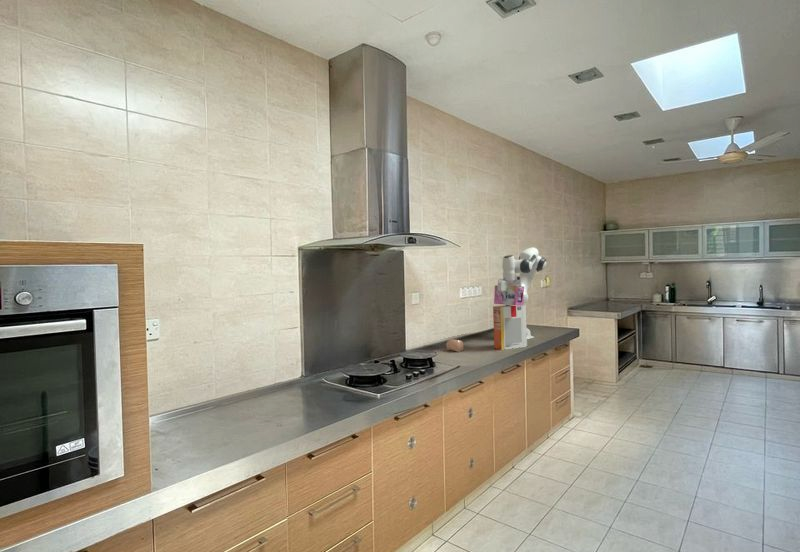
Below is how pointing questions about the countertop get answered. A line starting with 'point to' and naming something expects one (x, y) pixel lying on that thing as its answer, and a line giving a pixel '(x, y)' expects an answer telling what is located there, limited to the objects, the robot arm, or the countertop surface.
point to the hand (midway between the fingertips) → (509, 297)
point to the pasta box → (509, 326)
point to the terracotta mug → (454, 345)
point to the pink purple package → (510, 296)
